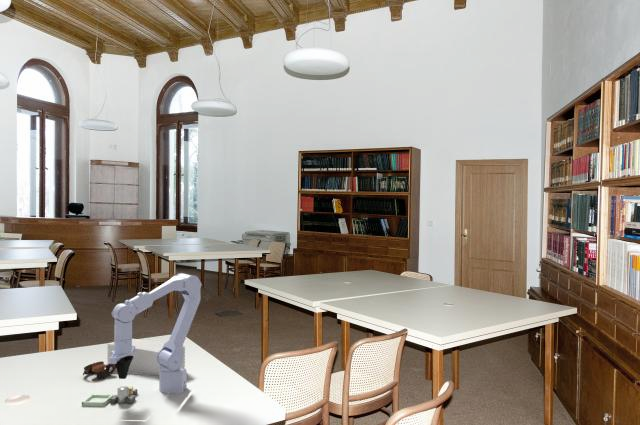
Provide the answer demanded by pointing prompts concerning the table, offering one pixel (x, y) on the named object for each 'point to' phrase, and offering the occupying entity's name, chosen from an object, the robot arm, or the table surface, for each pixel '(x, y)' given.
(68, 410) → the table surface
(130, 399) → the board
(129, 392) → the tan rectangular block
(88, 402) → the tray
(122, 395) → the shiny metal cylinder
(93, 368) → the brown piece
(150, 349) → the long grey box
